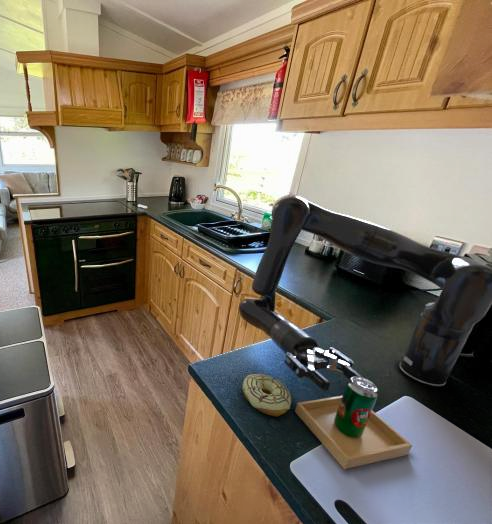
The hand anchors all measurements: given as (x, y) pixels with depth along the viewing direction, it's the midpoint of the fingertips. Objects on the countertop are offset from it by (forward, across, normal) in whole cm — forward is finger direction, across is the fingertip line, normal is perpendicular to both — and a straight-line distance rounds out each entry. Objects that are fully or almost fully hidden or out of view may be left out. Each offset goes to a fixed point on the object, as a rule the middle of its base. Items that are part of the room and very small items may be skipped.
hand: (344, 384), depth 61 cm
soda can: (+4, 0, +9) cm, 9 cm away
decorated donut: (-7, -12, +9) cm, 17 cm away
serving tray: (+4, 0, +9) cm, 10 cm away
